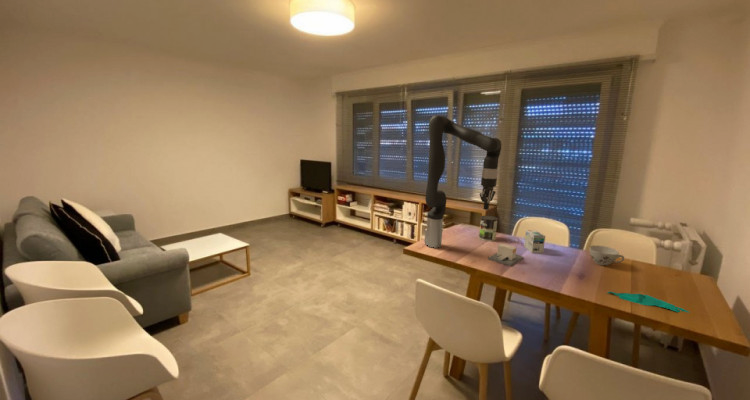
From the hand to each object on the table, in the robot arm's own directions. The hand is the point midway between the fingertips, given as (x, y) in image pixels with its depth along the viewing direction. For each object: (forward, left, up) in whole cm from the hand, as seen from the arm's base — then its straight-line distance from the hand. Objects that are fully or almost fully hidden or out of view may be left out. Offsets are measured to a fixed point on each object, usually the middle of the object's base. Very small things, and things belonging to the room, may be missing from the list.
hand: (486, 209), depth 166 cm
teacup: (+47, +42, -27) cm, 69 cm away
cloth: (+68, +9, -28) cm, 74 cm away
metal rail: (+10, +8, -27) cm, 30 cm away
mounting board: (+10, +8, -27) cm, 30 cm away
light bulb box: (+14, +34, -27) cm, 46 cm away
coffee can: (-14, +32, -27) cm, 44 cm away
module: (+10, +8, -26) cm, 29 cm away
